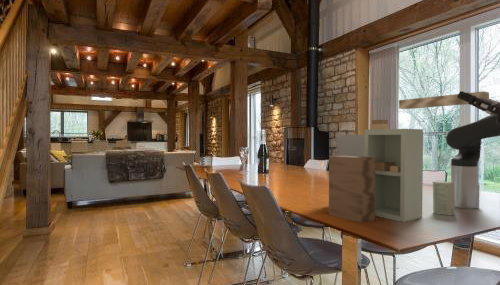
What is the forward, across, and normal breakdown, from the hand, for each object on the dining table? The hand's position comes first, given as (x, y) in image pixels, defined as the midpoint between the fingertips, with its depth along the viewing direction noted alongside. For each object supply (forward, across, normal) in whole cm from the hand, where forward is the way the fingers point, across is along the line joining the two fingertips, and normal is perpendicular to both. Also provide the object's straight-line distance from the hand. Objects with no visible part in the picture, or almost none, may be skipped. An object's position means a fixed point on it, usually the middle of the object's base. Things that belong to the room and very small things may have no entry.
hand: (462, 94), depth 102 cm
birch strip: (+4, 0, +6) cm, 7 cm away
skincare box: (-9, -19, +44) cm, 48 cm away
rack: (-1, 0, +48) cm, 48 cm away
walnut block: (+6, +14, +52) cm, 54 cm away
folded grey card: (+16, -4, +58) cm, 60 cm away
